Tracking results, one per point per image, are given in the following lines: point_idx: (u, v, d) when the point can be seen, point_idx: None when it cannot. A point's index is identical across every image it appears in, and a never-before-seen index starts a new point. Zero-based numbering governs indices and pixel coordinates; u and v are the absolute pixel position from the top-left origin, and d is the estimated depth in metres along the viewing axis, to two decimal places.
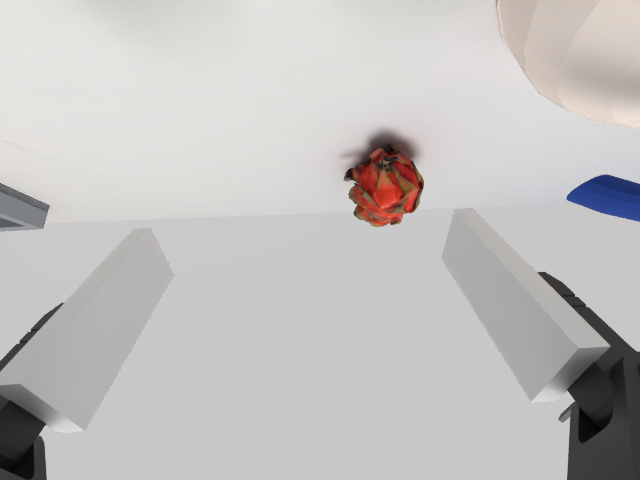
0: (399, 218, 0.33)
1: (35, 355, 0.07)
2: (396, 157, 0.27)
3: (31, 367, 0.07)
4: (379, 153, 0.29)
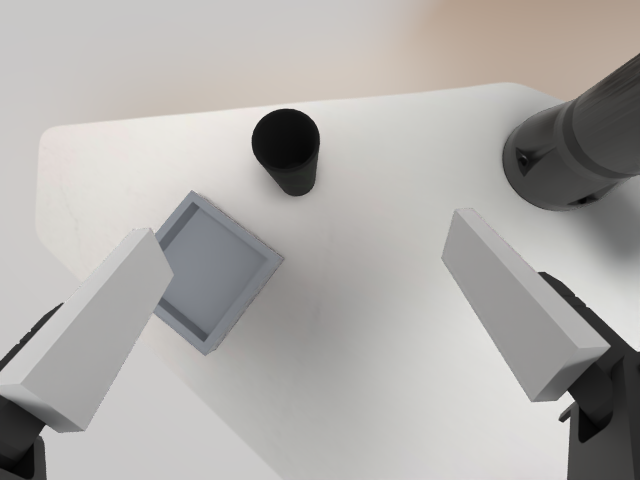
0: None
1: (35, 355, 0.07)
2: None
3: (31, 367, 0.07)
4: None
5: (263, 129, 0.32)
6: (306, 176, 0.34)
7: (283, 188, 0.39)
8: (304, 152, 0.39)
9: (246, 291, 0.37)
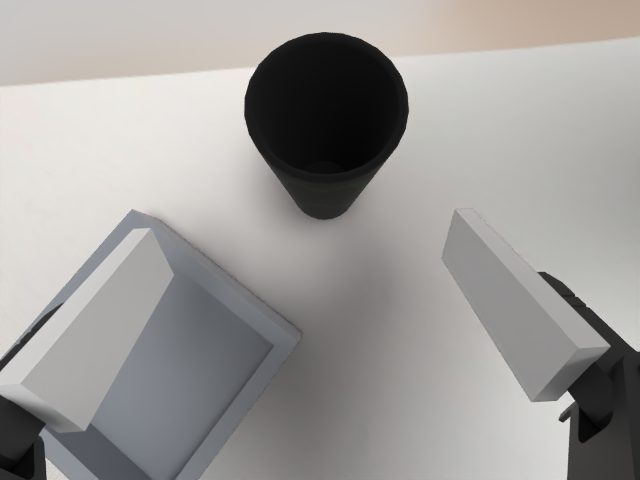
0: None
1: (35, 355, 0.07)
2: None
3: (31, 367, 0.07)
4: None
5: (272, 82, 0.14)
6: (360, 189, 0.16)
7: (303, 208, 0.21)
8: (344, 142, 0.21)
9: (231, 413, 0.19)
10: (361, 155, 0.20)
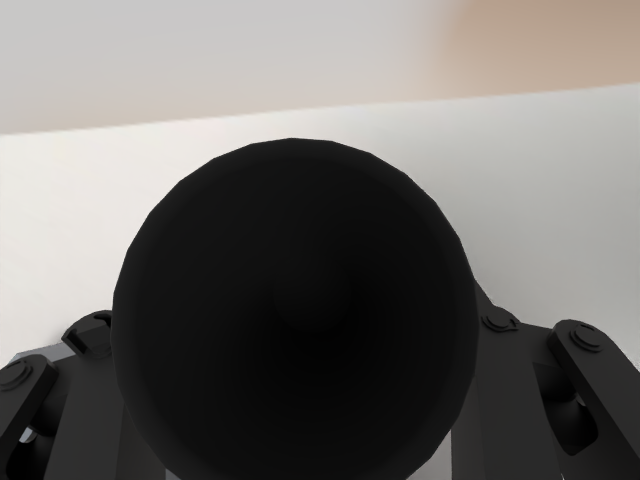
0: None
1: None
2: None
3: None
4: None
5: (190, 230, 0.07)
6: None
7: None
8: (339, 247, 0.14)
9: None
10: (366, 276, 0.13)
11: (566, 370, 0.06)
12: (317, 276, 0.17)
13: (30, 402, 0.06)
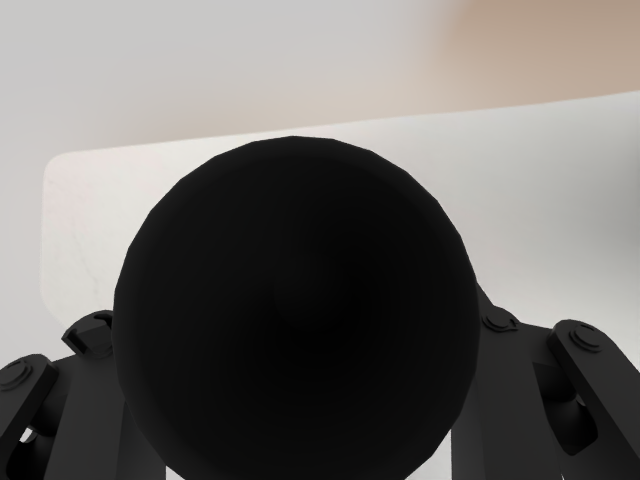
0: None
1: None
2: None
3: None
4: None
5: (191, 228, 0.07)
6: None
7: None
8: (339, 246, 0.14)
9: None
10: (366, 274, 0.13)
11: (566, 370, 0.06)
12: (317, 276, 0.17)
13: (30, 402, 0.06)
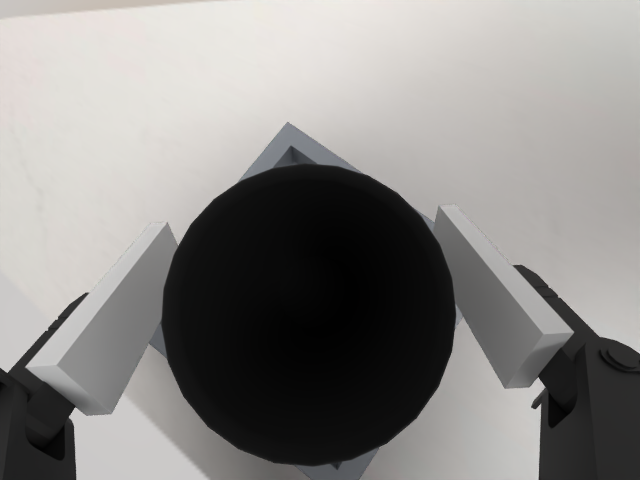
0: None
1: (68, 339, 0.07)
2: None
3: (65, 350, 0.07)
4: None
5: (220, 237, 0.08)
6: None
7: None
8: (341, 251, 0.15)
9: None
10: (365, 276, 0.14)
11: None
12: (320, 277, 0.18)
13: None
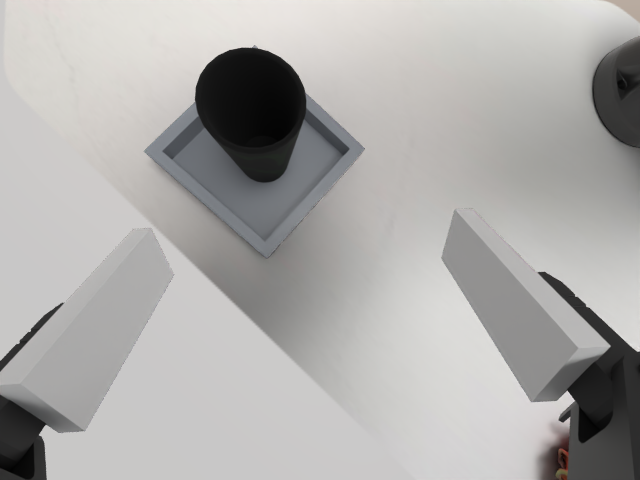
0: None
1: (35, 355, 0.07)
2: None
3: (31, 367, 0.07)
4: None
5: (217, 76, 0.20)
6: (279, 160, 0.23)
7: (243, 171, 0.28)
8: (278, 123, 0.27)
9: (321, 185, 0.29)
10: None
11: None
12: None
13: None
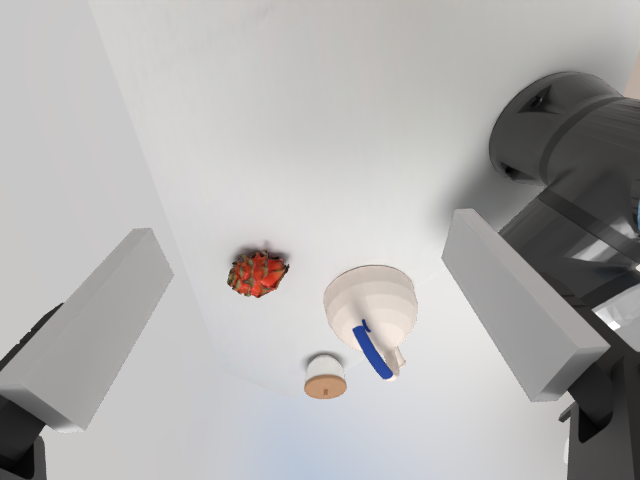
0: (250, 294, 0.49)
1: (35, 355, 0.07)
2: None
3: (31, 367, 0.07)
4: (282, 261, 0.52)
5: None
6: None
7: None
8: None
9: None
10: None
11: None
12: None
13: None
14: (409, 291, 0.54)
